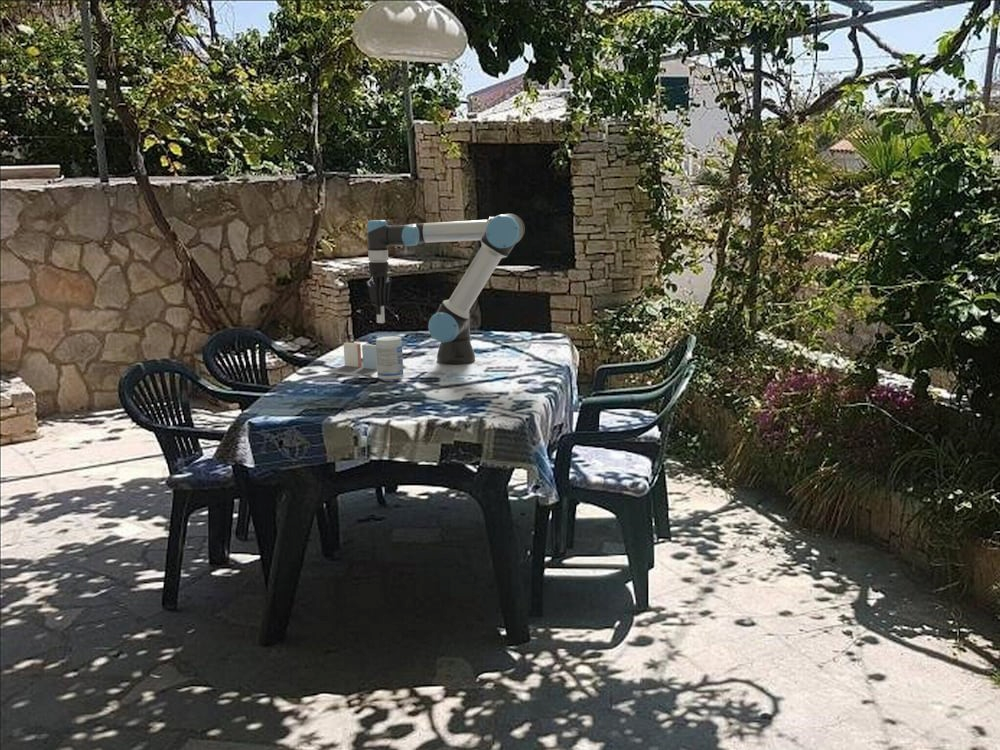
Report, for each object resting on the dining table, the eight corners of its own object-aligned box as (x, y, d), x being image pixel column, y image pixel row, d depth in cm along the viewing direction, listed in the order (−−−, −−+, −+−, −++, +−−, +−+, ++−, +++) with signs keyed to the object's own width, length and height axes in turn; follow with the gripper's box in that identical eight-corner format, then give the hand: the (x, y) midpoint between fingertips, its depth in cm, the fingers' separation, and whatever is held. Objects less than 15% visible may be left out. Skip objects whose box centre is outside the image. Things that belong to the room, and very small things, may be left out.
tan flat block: (361, 366, 342) (360, 343, 340) (358, 367, 340) (356, 344, 338) (348, 364, 345) (346, 342, 344) (344, 365, 344) (343, 343, 342)
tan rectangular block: (380, 368, 337) (379, 345, 335) (376, 369, 335) (375, 346, 333) (366, 367, 340) (365, 344, 338) (363, 368, 339) (361, 345, 337)
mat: (394, 366, 343) (394, 365, 343) (356, 377, 325) (356, 376, 325) (361, 362, 352) (361, 361, 352) (322, 372, 334) (322, 371, 334)
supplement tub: (405, 379, 319) (403, 339, 316) (378, 381, 317) (376, 341, 314) (401, 374, 328) (400, 335, 325) (376, 375, 326) (374, 336, 323)
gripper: (381, 259, 342) (384, 319, 347) (359, 262, 331) (362, 324, 337) (397, 260, 338) (399, 321, 343) (374, 263, 328) (377, 325, 333)
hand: (380, 322), depth 340 cm, fingers closed
